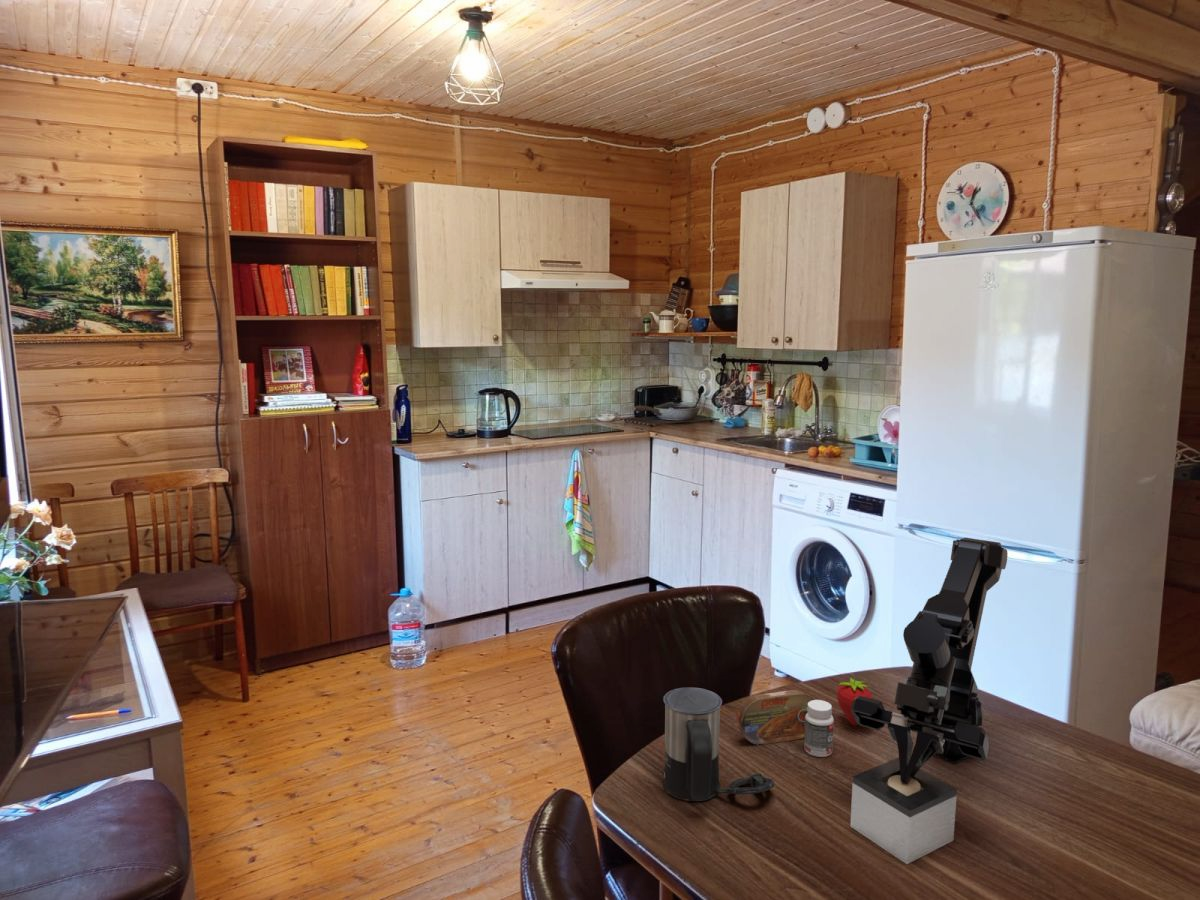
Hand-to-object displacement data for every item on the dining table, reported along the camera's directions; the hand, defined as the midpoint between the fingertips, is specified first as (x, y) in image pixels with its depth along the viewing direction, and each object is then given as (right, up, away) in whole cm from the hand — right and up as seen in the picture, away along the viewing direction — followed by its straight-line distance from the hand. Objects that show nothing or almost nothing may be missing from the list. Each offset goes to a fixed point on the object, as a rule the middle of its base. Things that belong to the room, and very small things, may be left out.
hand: (904, 782), depth 119 cm
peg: (0, -8, +2) cm, 8 cm away
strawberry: (+3, -3, +33) cm, 33 cm away
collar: (0, -8, +1) cm, 8 cm away
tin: (-12, -4, +29) cm, 31 cm away
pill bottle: (-6, -4, +24) cm, 26 cm away
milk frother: (-25, -6, +13) cm, 29 cm away
